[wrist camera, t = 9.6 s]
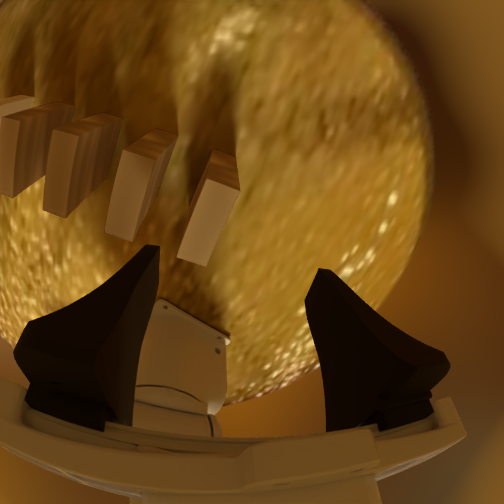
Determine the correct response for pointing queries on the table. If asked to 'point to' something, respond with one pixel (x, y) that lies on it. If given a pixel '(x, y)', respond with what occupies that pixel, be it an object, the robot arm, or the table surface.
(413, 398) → the robot arm
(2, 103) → the end domino
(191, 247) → the domino
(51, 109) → the domino
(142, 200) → the domino
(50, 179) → the domino
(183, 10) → the table surface
